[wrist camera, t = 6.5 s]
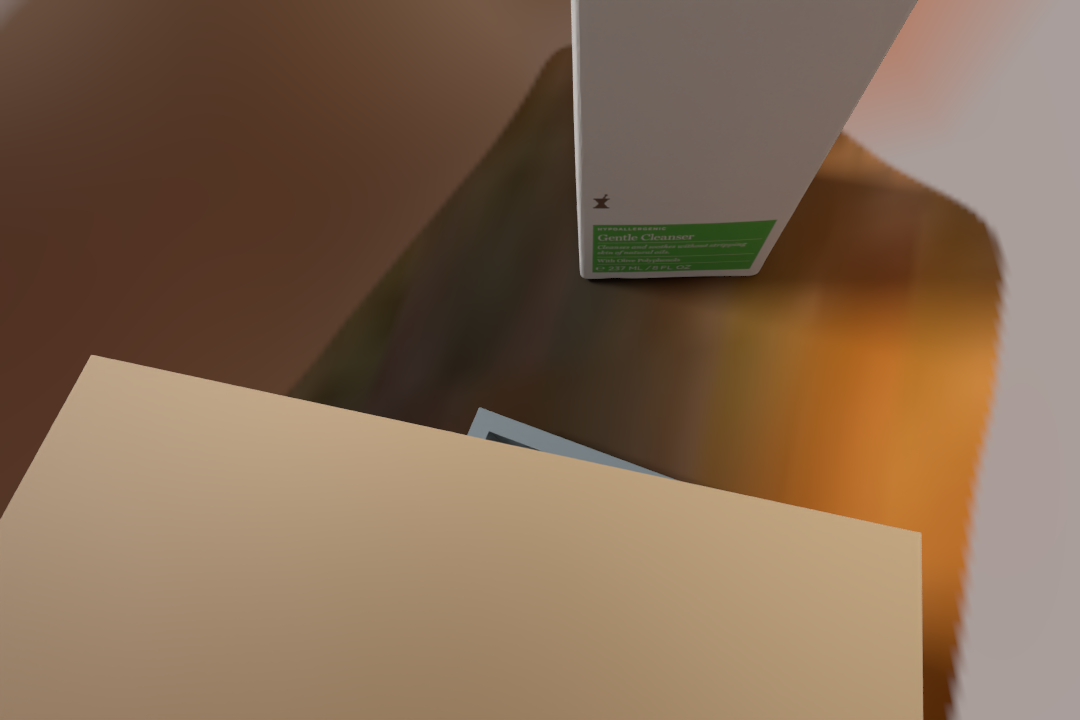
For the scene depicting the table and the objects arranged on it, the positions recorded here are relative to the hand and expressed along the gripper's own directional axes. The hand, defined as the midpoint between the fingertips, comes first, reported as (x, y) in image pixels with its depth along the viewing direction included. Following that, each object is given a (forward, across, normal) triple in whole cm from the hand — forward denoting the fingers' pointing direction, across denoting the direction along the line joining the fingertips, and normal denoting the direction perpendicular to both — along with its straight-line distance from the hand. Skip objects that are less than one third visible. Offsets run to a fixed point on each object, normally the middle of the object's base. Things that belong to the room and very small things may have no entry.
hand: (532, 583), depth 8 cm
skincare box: (+20, -1, -3) cm, 20 cm away
